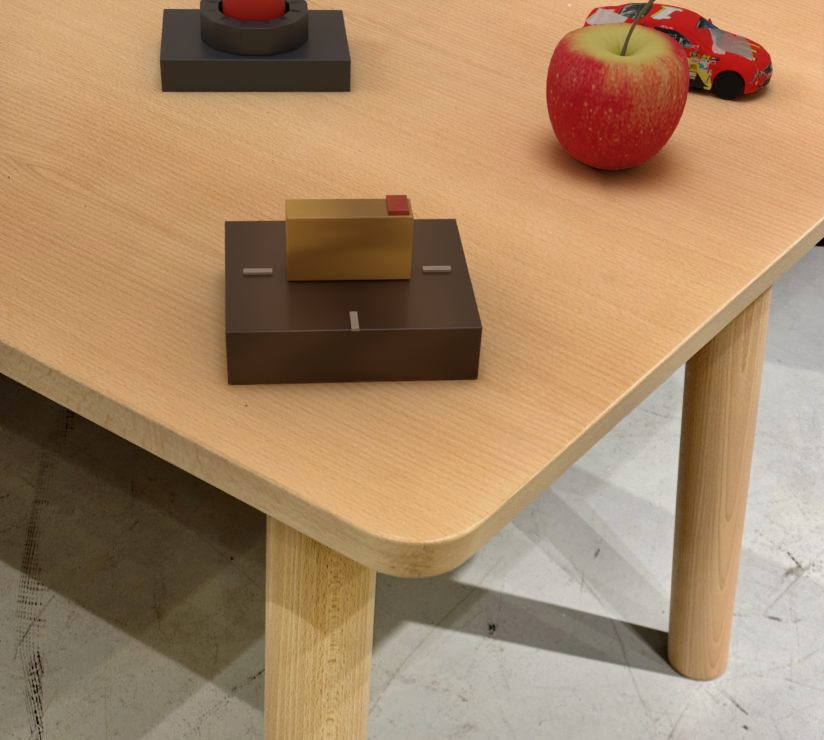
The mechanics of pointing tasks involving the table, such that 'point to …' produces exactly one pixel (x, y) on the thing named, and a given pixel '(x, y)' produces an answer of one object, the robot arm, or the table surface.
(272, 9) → the release button
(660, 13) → the race car
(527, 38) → the table surface
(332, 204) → the lock
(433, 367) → the plate
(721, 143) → the table surface
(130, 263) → the table surface
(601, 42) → the apple
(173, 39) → the button box
